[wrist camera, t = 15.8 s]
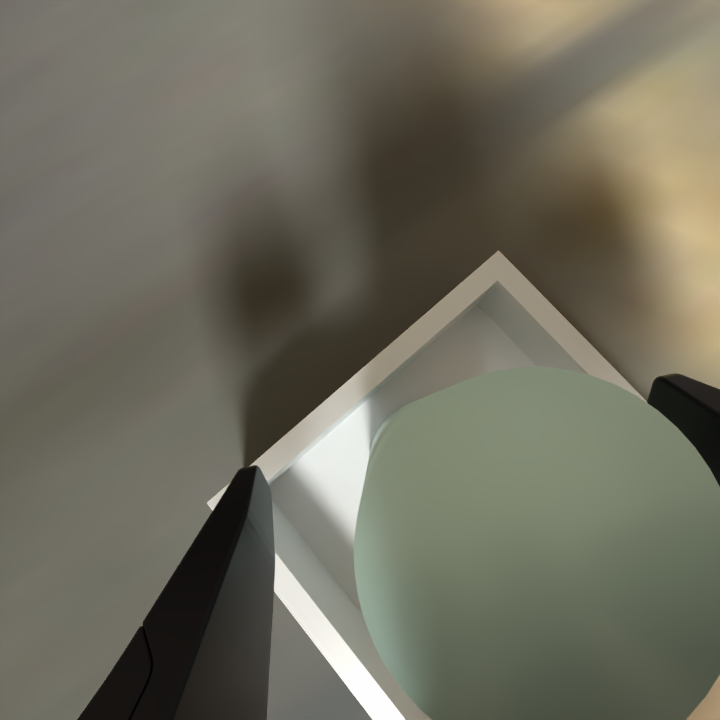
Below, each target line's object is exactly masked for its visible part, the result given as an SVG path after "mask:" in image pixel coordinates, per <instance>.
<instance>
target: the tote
mask: <svg viewBox="0 0 720 720" xmlns="http://www.w3.org/2000/svg"><path fill="white" fill-rule="evenodd" d="M518 367H549V368H558V369H566V370H571V371H575V372H579V373H584V374H588V375H592V376H594V377H597V378H600V379H602V380H605V381H607V382H610V383H613V384H615V385H617V386H619V387H621V388H623V389H625V390H627V391H629V392H630V393H632V394H634V395H636V396H638V397H639V398H641V399H642V400H644V401H645V402H646V403H647V401H646V400H645V399H644V398H643V397H642V396H641V395H640V394H639V393H638V392H637V391H636V390H635V389H634V388H633V387H632V386H631V385H630V384H629V383H628V382H627V381H626V380H625V379H624V378H623V377H622V376H621V375H620V374H619V373H618V372H617V371H616V370H615V369H614V367H613V366H612V365H611V364H610V363H609V362H608V361H607V360H606V359H605V358H604V357H603V356H602V355H601V354H600V353H599V352H598V351H597V350H596V349H595V348H594V347H593V346H592V345H591V344H590V343H589V342H588V341H587V340H586V339H585V338H584V337H583V336H582V335H581V334H580V333H579V332H578V331H577V330H576V329H575V328H574V327H573V326H572V325H571V324H570V323H569V322H568V321H567V320H566V319H565V317H564V316H563V315H562V314H561V313H560V312H559V311H558V310H557V309H556V308H555V307H554V306H553V305H552V304H551V303H550V302H549V301H548V300H547V299H546V298H545V297H544V296H543V295H542V294H541V293H540V292H539V291H538V290H537V289H536V288H535V287H534V286H533V285H532V284H531V283H530V282H529V281H528V280H527V279H526V278H525V277H524V276H523V275H522V274H521V273H520V272H519V271H518V270H517V269H516V268H515V266H514V265H513V264H512V263H511V262H510V261H509V260H508V259H507V258H506V257H505V256H504V255H503V254H502V253H501V252H500V251H499V250H498V251H497V252H496V253H495V254H494V255H492V256H491V257H490V258H489V259H488V260H487V261H486V262H484V263H483V264H482V265H481V266H480V267H479V268H477V269H476V270H475V271H474V272H473V273H472V274H471V275H469V276H468V277H467V278H466V279H465V280H464V281H462V282H461V283H460V284H459V285H458V286H457V287H456V288H454V289H453V290H452V291H451V292H450V293H449V294H447V295H446V296H445V297H444V298H443V299H442V300H440V301H439V302H438V303H437V304H436V305H435V306H434V307H432V308H431V309H430V310H429V311H428V312H427V313H425V314H424V315H423V316H422V317H421V318H420V319H419V320H417V321H416V322H415V323H414V324H413V325H412V326H410V327H409V328H408V329H407V330H406V331H405V332H404V333H402V334H401V335H400V336H399V337H398V338H397V339H395V340H394V341H393V342H392V343H391V344H390V345H389V346H387V347H386V348H385V349H384V350H383V351H382V352H380V353H379V354H378V355H377V356H376V357H375V358H374V359H372V360H371V361H370V362H369V363H368V364H367V365H365V366H364V367H363V368H362V369H361V370H360V371H359V372H357V373H356V374H355V375H354V376H353V377H352V378H350V379H349V380H348V381H347V382H346V383H345V384H343V385H342V386H341V387H340V388H339V389H338V390H337V391H335V392H334V393H333V394H332V395H331V396H330V397H328V398H327V399H326V400H325V401H324V402H323V403H322V404H320V405H319V406H318V407H317V408H316V409H315V410H313V411H312V412H311V413H310V414H309V415H308V416H307V417H305V418H304V419H303V420H302V421H301V422H300V423H298V424H297V425H296V426H295V427H294V428H293V429H292V430H290V431H289V432H288V433H287V434H286V435H285V436H283V437H282V438H281V439H280V440H279V441H278V442H277V443H275V444H274V445H273V446H272V447H271V448H270V449H268V450H267V451H266V452H265V453H264V454H263V455H262V456H260V457H259V458H258V459H257V460H256V461H255V462H253V463H252V464H251V465H250V466H253V465H257V466H259V467H260V469H261V471H262V473H263V475H264V477H265V479H266V480H267V482H268V484H269V486H270V489H271V494H272V510H273V527H274V545H275V579H274V591H275V593H276V594H277V595H278V597H279V598H280V599H281V601H282V602H283V603H284V604H285V606H286V607H287V608H288V610H289V611H290V612H291V614H292V615H293V616H294V618H295V619H296V620H297V621H298V623H299V624H300V625H301V627H302V628H303V629H304V631H305V632H306V633H307V634H308V636H309V637H310V638H311V640H312V641H313V642H314V644H315V645H316V646H317V648H318V649H319V650H320V651H321V653H322V654H323V655H324V657H325V658H326V659H327V661H328V662H329V663H330V665H331V666H332V667H333V668H334V670H335V671H336V672H337V674H338V675H339V676H340V678H341V679H342V680H343V681H344V683H345V684H346V685H347V687H348V688H349V689H350V691H351V692H352V693H353V695H354V696H355V697H356V698H357V700H358V701H359V702H360V704H361V705H362V706H363V708H364V709H365V710H366V711H367V713H368V714H369V715H370V717H371V718H372V719H373V720H432V719H430V718H429V717H428V716H427V715H426V714H425V713H423V712H422V711H421V710H420V709H419V708H418V707H417V705H416V704H415V703H414V702H413V701H412V700H411V699H410V698H409V697H408V696H407V695H406V694H405V692H404V691H403V690H402V689H401V687H400V686H399V685H398V683H397V682H396V680H395V679H394V678H393V676H392V675H391V673H390V672H389V671H388V669H387V667H386V666H385V664H384V662H383V660H382V658H381V656H380V655H379V653H378V651H377V649H376V647H375V645H374V643H373V641H372V638H371V636H370V633H369V630H368V628H367V625H366V623H365V620H364V617H363V613H362V609H361V605H360V601H359V597H358V593H357V586H356V578H355V570H354V538H355V530H356V521H357V515H358V510H359V505H360V500H361V495H362V490H363V485H364V480H365V475H366V470H367V465H368V460H369V455H370V450H371V446H372V442H373V439H374V437H375V434H376V432H377V430H378V429H379V427H380V425H381V424H382V423H383V421H384V420H385V419H386V418H387V417H388V416H389V415H390V414H391V413H393V412H394V411H395V410H397V409H398V408H400V407H402V406H404V405H406V404H409V403H411V402H413V401H416V400H418V399H421V398H423V397H426V396H428V395H431V394H433V393H436V392H438V391H440V390H443V389H445V388H448V387H450V386H453V385H455V384H458V383H460V382H463V381H465V380H468V379H470V378H472V377H475V376H479V375H483V374H486V373H490V372H493V371H497V370H504V369H511V368H518ZM230 483H231V482H230ZM230 483H229V484H230ZM229 484H228V485H227V486H226V487H225V488H223V489H222V490H221V491H220V492H219V493H218V494H216V495H215V496H214V497H213V498H212V499H211V500H210V501H208V502H207V504H208V505H209V507H210V508H211V509H212V511H213V510H214V508H215V507H216V505H217V503H218V502H219V500H220V499H221V497H222V495H223V494H224V492H225V491H226V489H227V487H228V486H229Z"/></svg>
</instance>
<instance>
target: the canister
mask: <svg viewBox="0 0 720 720" xmlns="http://www.w3.org/2000/svg"><path fill="white" fill-rule="evenodd" d="M354 570H355V578H356V586H357V593H358V597H359V601H360V605H361V609H362V613H363V617H364V620H365V623H366V625H367V628H368V630H369V633H370V636H371V638H372V641H373V643H374V645H375V647H376V649H377V651H378V653H379V655H380V656H381V658H382V660H383V662H384V664H385V666H386V667H387V669H388V671H389V672H390V673H391V675H392V676H393V678H394V679H395V680H396V682H397V683H398V685H399V686H400V687H401V689H402V690H403V691H404V692H405V694H406V695H407V696H408V697H409V698H410V699H411V700H412V701H413V702H414V703H415V704H416V705H417V707H418V708H419V709H420V710H421V711H422V712H423V713H425V714H426V715H427V716H428V717H429V718H430V719H432V720H685V719H686V718H688V717H689V716H690V715H691V713H692V712H693V711H694V710H695V709H696V707H697V706H698V705H699V704H700V703H701V702H702V700H703V699H704V698H705V697H706V696H707V694H708V692H709V691H710V689H711V687H712V686H713V684H714V683H715V681H716V679H717V678H718V676H719V675H720V487H719V485H718V483H717V481H716V479H715V477H714V475H713V474H712V472H711V470H710V468H709V467H708V465H707V464H706V462H705V461H704V460H703V458H702V457H701V455H700V454H699V452H698V451H697V450H696V448H695V447H694V446H693V444H692V443H691V442H690V441H689V440H688V439H687V438H686V437H685V436H684V434H683V433H682V432H681V431H680V430H679V429H678V428H677V427H676V426H675V425H674V424H673V423H672V422H671V421H669V420H668V419H667V418H666V417H665V416H664V415H663V414H661V413H660V412H659V411H658V410H657V409H655V408H654V407H652V406H651V405H649V404H648V403H646V402H645V401H644V400H642V399H641V398H639V397H638V396H636V395H634V394H632V393H630V392H629V391H627V390H625V389H623V388H621V387H619V386H617V385H615V384H613V383H610V382H607V381H605V380H602V379H600V378H597V377H594V376H592V375H588V374H584V373H579V372H575V371H571V370H566V369H558V368H549V367H518V368H511V369H504V370H497V371H493V372H490V373H486V374H483V375H479V376H475V377H472V378H470V379H468V380H465V381H463V382H460V383H458V384H455V385H453V386H450V387H448V388H445V389H443V390H440V391H438V392H436V393H433V394H431V395H428V396H426V397H423V398H421V399H418V400H416V401H413V402H411V403H409V404H406V405H404V406H402V407H400V408H398V409H397V410H395V411H394V412H393V413H391V414H390V415H389V416H388V417H387V418H386V419H385V420H384V421H383V423H382V424H381V425H380V427H379V429H378V430H377V432H376V434H375V437H374V439H373V442H372V446H371V450H370V455H369V460H368V465H367V470H366V475H365V480H364V485H363V490H362V495H361V500H360V505H359V510H358V515H357V521H356V530H355V538H354Z"/></svg>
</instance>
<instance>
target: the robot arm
mask: <svg viewBox="0 0 720 720" xmlns="http://www.w3.org/2000/svg"><path fill="white" fill-rule="evenodd" d="M647 403H648V404H649V405H651V406H652V407H654V408H655V409H657V410H658V411H659V412H660V413H661V414H663V415H664V416H665V417H666V418H667V419H668V420H669V421H671V422H672V423H673V424H674V425H675V426H676V427H677V428H678V429H679V430H680V431H681V432H682V433H683V434H684V436H685V437H686V438H687V439H688V440H689V441H690V442H691V443H692V444H693V446H694V447H695V448H696V450H697V451H698V452H699V454H700V455H701V457H702V458H703V460H704V461H705V462H706V464H707V465H708V467H709V468H710V470H711V472H712V474H713V475H714V477H715V479H716V481H717V483H718V485H719V487H720V389H717V388H715V387H712V386H709V385H707V384H704V383H702V382H699V381H696V380H694V379H691V378H689V377H686V376H683V375H680V374H668V375H664V376H659V377H657V378H656V379H655V380H654V382H653V384H652V388H651V391H650V394H649V397H648V400H647ZM274 579H275V545H274V527H273V510H272V494H271V489H270V486H269V484H268V482H267V480H266V479H265V477H264V475H263V473H262V471H261V469H260V467H259V466H257V465H253V466H249V467H244V468H241V469H240V470H238V472H237V473H236V475H235V476H234V478H233V479H232V481H231V483H230V484H229V486H228V487H227V489H226V491H225V492H224V494H223V495H222V497H221V499H220V500H219V502H218V503H217V505H216V507H215V508H214V510H213V511H212V513H211V514H210V516H209V518H208V519H207V521H206V522H205V524H204V526H203V527H202V529H201V530H200V532H199V534H198V535H197V537H196V538H195V540H194V542H193V543H192V545H191V546H190V548H189V549H188V551H187V553H186V554H185V556H184V557H183V559H182V561H181V562H180V564H179V565H178V567H177V569H176V570H175V572H174V573H173V575H172V577H171V578H170V580H169V581H168V583H167V585H166V586H165V588H164V589H163V591H162V592H161V594H160V596H159V597H158V599H157V600H156V602H155V604H154V605H153V607H152V608H151V610H150V612H149V613H148V615H147V616H146V618H145V620H144V621H143V626H141V627H139V629H138V630H137V632H136V634H135V635H134V637H133V638H132V640H131V642H130V643H129V645H128V646H127V648H126V649H125V651H124V652H123V654H122V655H121V657H120V659H119V660H118V662H117V663H116V665H115V666H114V668H113V669H112V671H111V672H110V674H109V675H108V677H107V678H106V680H105V681H104V683H103V684H102V685H101V687H100V688H99V690H98V691H97V693H96V694H95V695H94V697H93V698H92V700H91V701H90V702H89V704H88V705H87V707H86V708H85V710H84V711H83V712H82V714H81V715H80V717H79V718H78V719H77V720H267V702H268V685H269V667H270V649H271V632H272V614H273V596H274Z"/></svg>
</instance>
